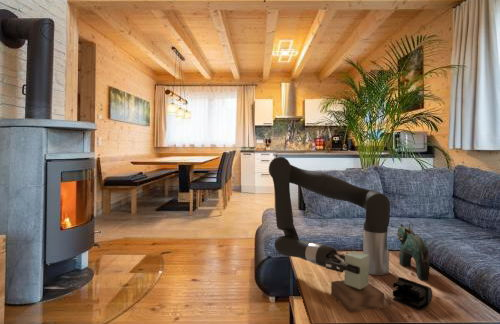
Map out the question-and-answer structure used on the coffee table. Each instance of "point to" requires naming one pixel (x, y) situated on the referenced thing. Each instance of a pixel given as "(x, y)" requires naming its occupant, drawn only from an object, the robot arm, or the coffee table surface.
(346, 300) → the walnut box
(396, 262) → the coffee table surface
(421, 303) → the end cap
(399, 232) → the green animal figurine
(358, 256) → the tall sage green block
